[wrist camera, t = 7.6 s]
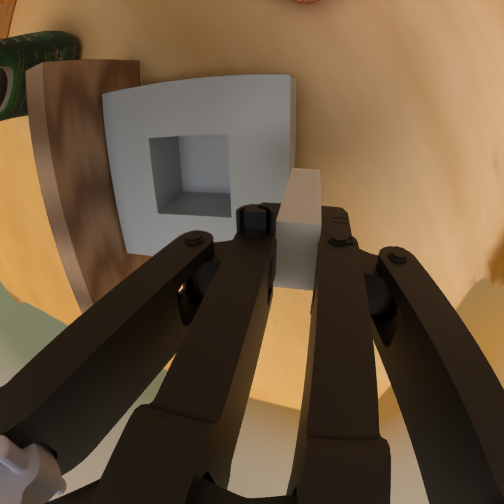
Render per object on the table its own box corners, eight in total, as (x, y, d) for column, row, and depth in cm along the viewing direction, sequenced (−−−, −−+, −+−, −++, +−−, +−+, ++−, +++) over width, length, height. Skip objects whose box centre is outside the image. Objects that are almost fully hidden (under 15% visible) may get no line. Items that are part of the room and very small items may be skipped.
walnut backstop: (122, 64, 22) (25, 71, 12) (138, 60, 22) (42, 62, 12) (144, 246, 33) (82, 314, 22) (159, 247, 32) (99, 319, 22)
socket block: (141, 89, 23) (101, 94, 18) (296, 79, 21) (290, 74, 16) (156, 224, 30) (127, 253, 25) (292, 234, 28) (285, 270, 23)
